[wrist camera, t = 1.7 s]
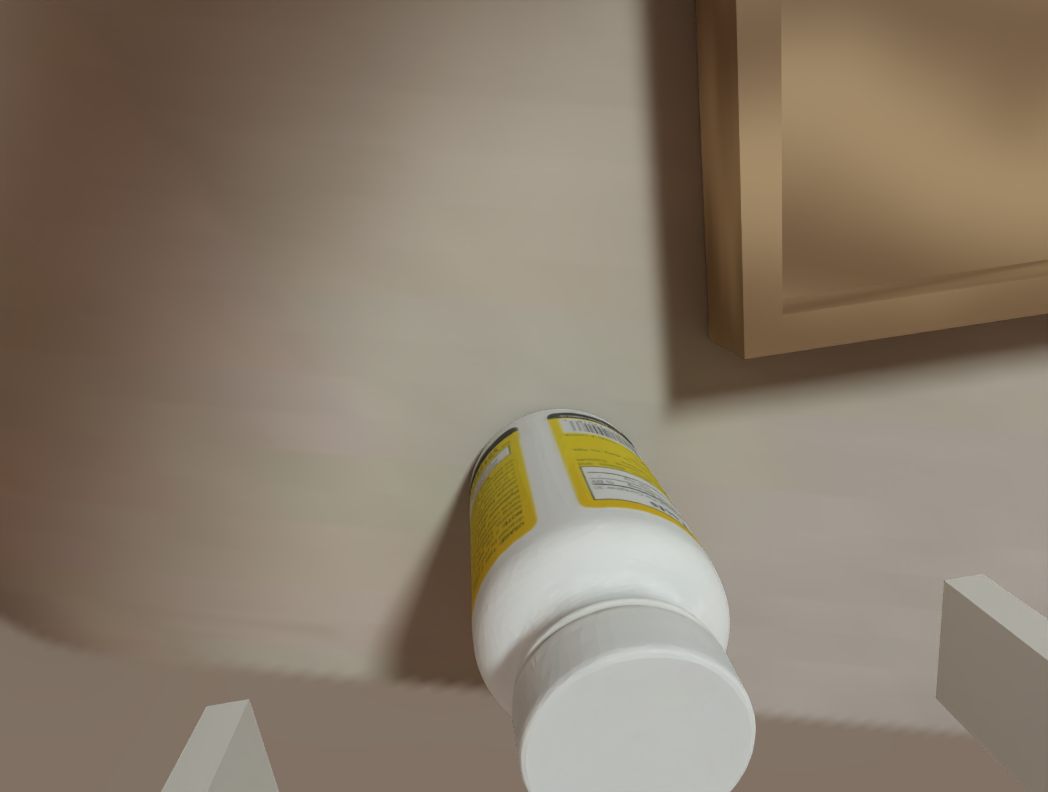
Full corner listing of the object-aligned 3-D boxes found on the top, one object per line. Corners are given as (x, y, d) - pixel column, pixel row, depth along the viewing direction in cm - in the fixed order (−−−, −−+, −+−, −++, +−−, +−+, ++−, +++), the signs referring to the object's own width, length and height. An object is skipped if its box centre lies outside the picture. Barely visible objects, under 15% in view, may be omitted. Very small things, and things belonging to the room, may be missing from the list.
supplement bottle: (499, 583, 20) (523, 908, 11) (446, 434, 19) (422, 669, 9) (658, 535, 20) (820, 820, 11) (620, 381, 19) (771, 564, 9)
